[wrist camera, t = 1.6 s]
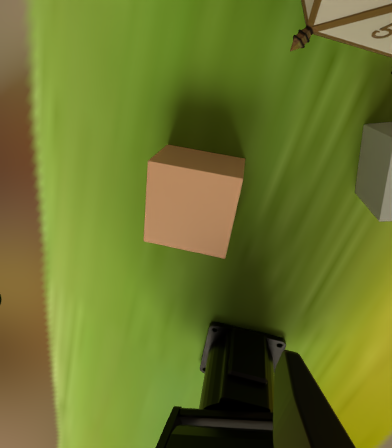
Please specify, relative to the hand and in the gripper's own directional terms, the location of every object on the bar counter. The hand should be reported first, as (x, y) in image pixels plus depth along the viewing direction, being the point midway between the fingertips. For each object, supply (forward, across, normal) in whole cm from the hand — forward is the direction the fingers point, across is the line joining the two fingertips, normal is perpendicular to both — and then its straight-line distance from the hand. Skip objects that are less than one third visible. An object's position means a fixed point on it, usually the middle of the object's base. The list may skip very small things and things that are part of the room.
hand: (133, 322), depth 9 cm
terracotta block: (+12, 0, 0) cm, 12 cm away
